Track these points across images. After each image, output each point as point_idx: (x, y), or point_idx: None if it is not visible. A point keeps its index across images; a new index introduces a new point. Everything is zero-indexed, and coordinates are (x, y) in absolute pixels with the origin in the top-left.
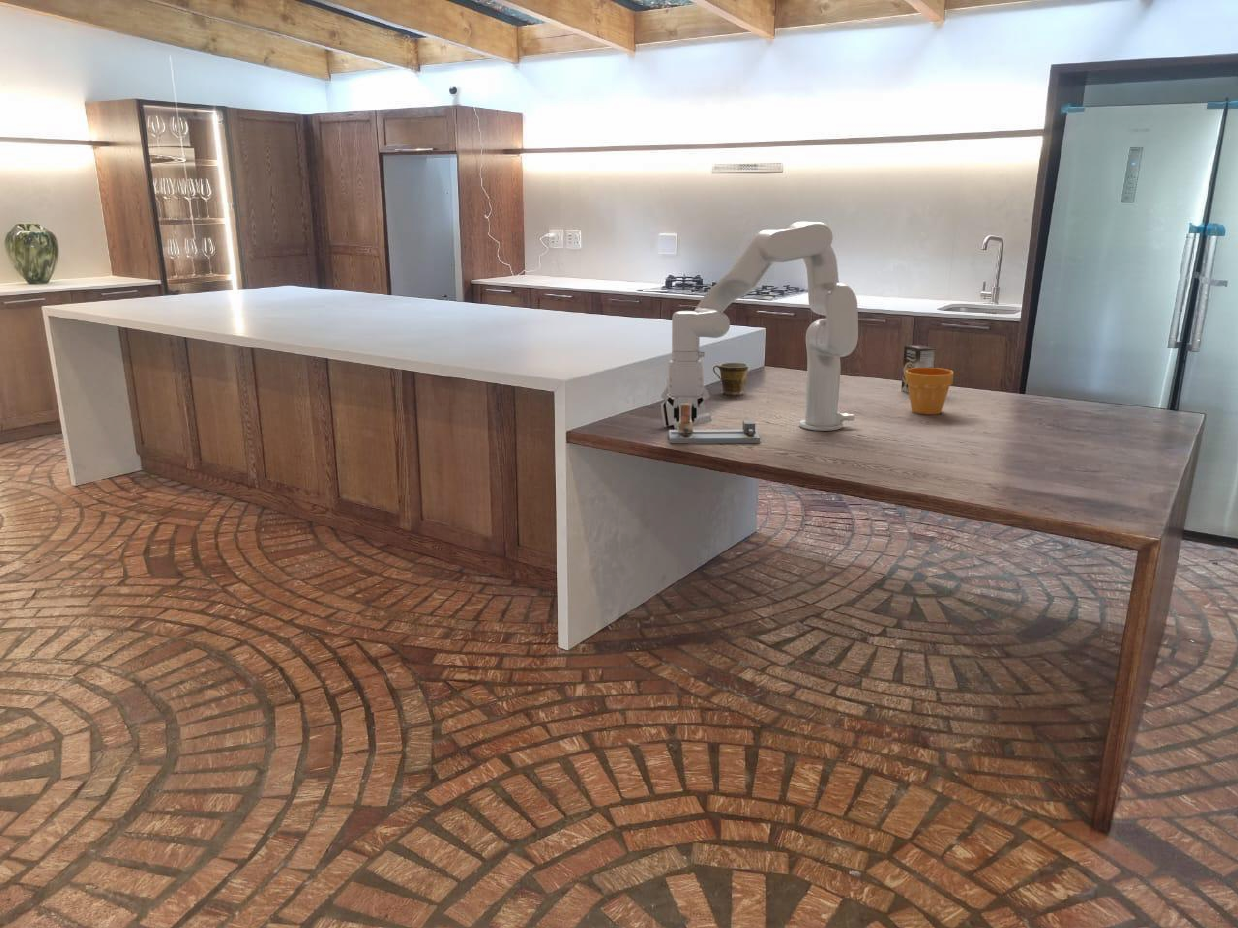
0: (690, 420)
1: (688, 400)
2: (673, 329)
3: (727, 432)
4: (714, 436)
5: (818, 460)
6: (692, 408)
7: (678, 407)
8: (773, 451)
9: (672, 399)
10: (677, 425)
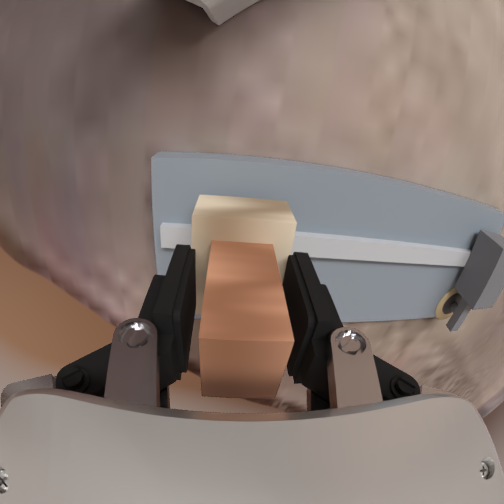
0: (284, 233)
1: None
2: None
3: (422, 261)
4: (355, 302)
5: (442, 388)
6: (294, 374)
7: (178, 349)
8: (427, 361)
9: (103, 393)
10: (227, 7)
